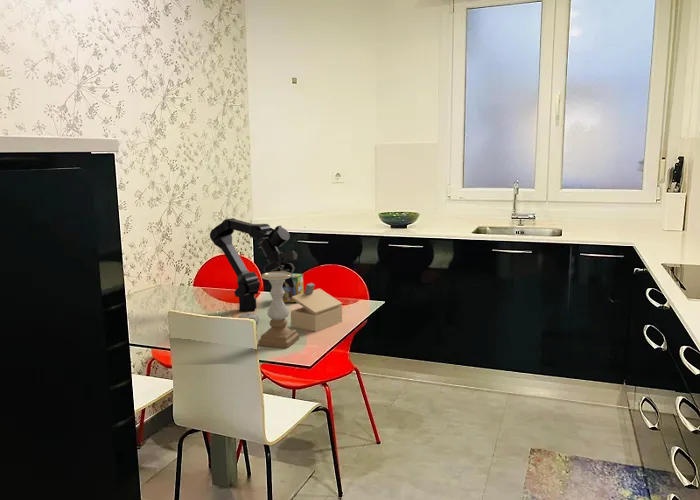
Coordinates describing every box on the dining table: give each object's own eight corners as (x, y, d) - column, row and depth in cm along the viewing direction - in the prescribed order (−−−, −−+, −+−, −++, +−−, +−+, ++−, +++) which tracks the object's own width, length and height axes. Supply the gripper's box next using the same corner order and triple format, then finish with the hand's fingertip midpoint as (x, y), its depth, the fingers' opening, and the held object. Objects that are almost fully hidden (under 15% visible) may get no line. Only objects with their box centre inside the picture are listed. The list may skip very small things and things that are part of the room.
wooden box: (291, 326, 214) (290, 310, 213) (318, 316, 227) (317, 302, 226) (315, 331, 207) (315, 315, 206) (342, 321, 220) (341, 306, 219)
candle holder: (271, 336, 203) (268, 270, 199) (299, 338, 200) (297, 271, 196) (257, 345, 192) (254, 276, 189) (287, 348, 189) (285, 278, 186)
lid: (291, 298, 212) (294, 287, 210) (318, 290, 225) (322, 279, 223) (314, 314, 206) (318, 302, 204) (341, 305, 219) (345, 294, 217)
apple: (239, 327, 214) (238, 310, 213) (260, 327, 214) (259, 310, 213) (236, 334, 206) (236, 316, 205) (258, 333, 206) (258, 315, 205)
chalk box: (298, 303, 249) (297, 270, 247) (278, 302, 251) (277, 269, 248) (304, 298, 258) (303, 266, 256) (285, 297, 260) (284, 265, 257)
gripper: (280, 240, 216) (298, 276, 213) (296, 244, 234) (313, 278, 231) (255, 254, 218) (273, 290, 215) (274, 257, 236) (290, 291, 233)
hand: (288, 287), depth 223 cm, fingers open, 9 cm apart
